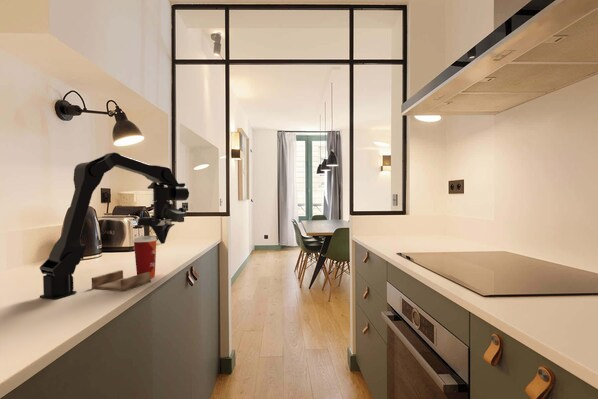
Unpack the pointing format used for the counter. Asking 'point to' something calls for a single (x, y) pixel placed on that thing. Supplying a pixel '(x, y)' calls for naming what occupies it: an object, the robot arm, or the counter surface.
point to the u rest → (119, 281)
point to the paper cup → (145, 254)
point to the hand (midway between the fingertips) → (162, 243)
